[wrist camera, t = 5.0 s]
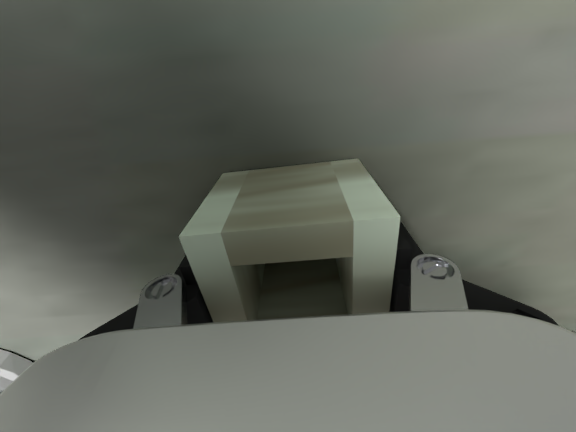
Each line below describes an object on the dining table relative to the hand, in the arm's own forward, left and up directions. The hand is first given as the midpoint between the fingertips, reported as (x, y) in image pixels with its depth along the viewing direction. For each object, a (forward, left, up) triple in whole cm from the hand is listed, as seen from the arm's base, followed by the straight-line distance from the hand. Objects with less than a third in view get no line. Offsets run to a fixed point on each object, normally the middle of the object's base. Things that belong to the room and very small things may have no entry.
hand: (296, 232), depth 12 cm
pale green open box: (0, 0, -1) cm, 1 cm away
